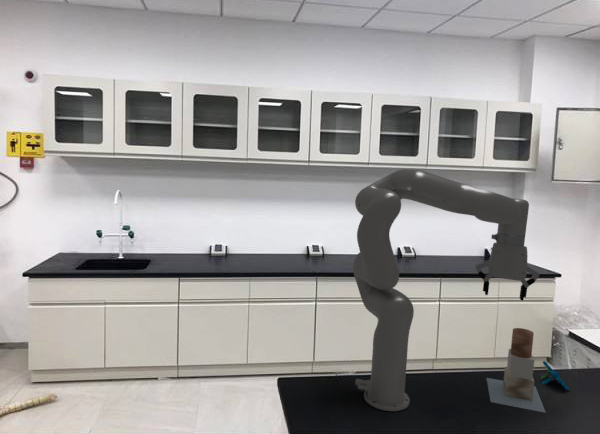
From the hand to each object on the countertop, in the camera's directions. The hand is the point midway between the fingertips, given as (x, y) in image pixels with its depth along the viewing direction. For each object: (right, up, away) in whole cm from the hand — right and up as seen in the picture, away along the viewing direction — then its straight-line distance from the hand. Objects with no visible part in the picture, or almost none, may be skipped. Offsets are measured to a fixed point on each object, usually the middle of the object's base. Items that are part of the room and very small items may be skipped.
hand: (503, 296), depth 133 cm
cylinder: (+4, -17, -2) cm, 17 cm away
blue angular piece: (+18, -29, +6) cm, 35 cm away
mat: (+2, -29, -1) cm, 29 cm away
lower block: (+4, -29, -1) cm, 29 cm away
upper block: (+4, -23, -1) cm, 23 cm away
